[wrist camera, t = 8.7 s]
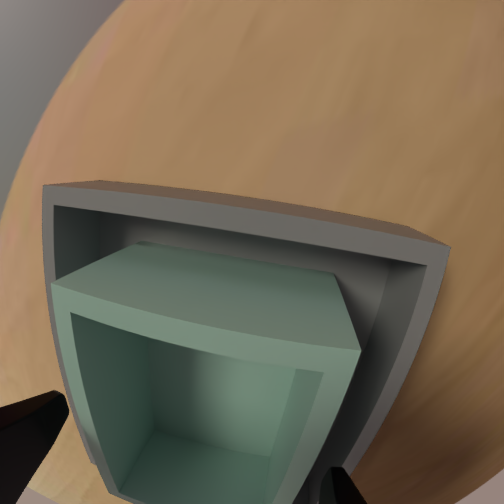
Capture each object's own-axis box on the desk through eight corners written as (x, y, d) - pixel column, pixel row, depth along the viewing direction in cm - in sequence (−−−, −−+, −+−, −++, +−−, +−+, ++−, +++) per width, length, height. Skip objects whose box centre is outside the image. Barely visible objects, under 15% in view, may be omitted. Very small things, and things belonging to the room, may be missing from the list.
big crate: (408, 226, 10) (450, 247, 7) (316, 473, 13) (316, 519, 10) (99, 180, 11) (42, 185, 8) (116, 426, 15) (91, 462, 11)
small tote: (141, 240, 11) (50, 283, 6) (333, 272, 10) (361, 350, 5) (149, 425, 13) (109, 493, 8) (280, 456, 13) (270, 537, 8)
